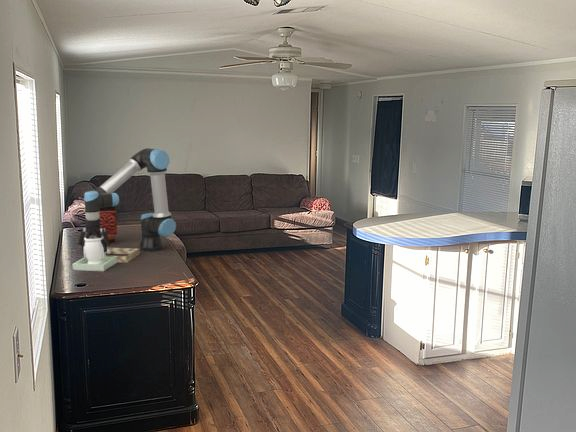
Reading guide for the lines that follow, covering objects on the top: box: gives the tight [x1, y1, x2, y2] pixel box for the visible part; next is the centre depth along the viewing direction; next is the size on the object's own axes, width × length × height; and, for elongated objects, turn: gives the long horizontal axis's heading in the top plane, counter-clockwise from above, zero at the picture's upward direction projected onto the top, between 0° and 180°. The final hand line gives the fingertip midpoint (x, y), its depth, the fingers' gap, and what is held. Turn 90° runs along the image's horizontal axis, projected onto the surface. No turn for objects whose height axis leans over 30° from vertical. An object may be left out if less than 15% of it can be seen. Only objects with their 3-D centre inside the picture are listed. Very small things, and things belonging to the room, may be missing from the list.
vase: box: [99, 206, 118, 245], centre depth 380 cm, size 14×14×30 cm
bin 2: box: [106, 247, 141, 264], centre depth 345 cm, size 22×20×4 cm
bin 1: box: [72, 257, 118, 272], centre depth 326 cm, size 18×18×4 cm
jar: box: [83, 235, 104, 264], centre depth 324 cm, size 11×10×15 cm
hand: (94, 257), depth 325 cm, fingers closed on jar, 10 cm apart
